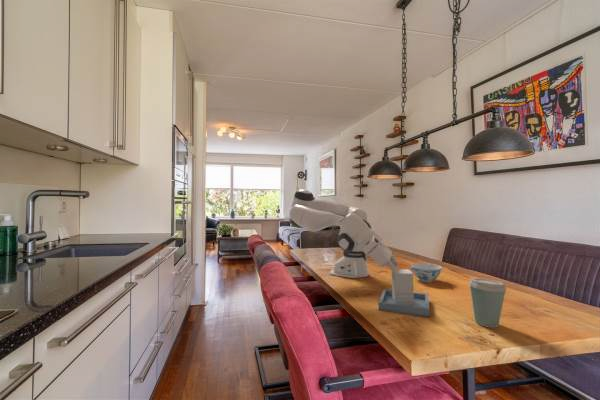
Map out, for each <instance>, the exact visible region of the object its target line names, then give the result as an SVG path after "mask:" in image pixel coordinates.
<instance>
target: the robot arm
mask: <svg viewBox="0 0 600 400" xmlns="http://www.w3.org/2000/svg"><path fill="white" fill-rule="evenodd" d="M293 196H294V197H293V200H292V203H291V209H290V211H289V222H290V224H291V226H293V227H295V228H298V229H305V230H306V231H307V232H312V233H317V232H319V231H320V232H321V231H322V230H323V229H324V230H325V229H326V228H329V227H339V233H338V235H337V238H336V240H337V241H336V243H337V245H338V246H339V247H340V249H341V250H343V251H342V254H343V256H342V257H340V258H339V259H337V260H336V261H335V262H334V264H333V268H332V269H331V270H330V271H329V274H330V275H332V276H338V277H342V278H343V277H344V278H350V279H357V278H364V277H365V278H366V277H368V276H369V275H370V273H369V270H368V264H367V259H368V256H369V257H370V258H371V259H372V260H373V261H374V262H375V263H377V265H379V266H380V267H382V268H384V267H386V268H388V269H389V270H391V272H392V271H393V272H396V271H397V269H398V267H399V262H398V261H397V260H396V258H395V257H394V256H393V252H392V250H391V249H390V248H389V247H387V246H386V245H385V244H384V243H383V242H382V240H383V238H382V237H381V236H380V235H379V234H378V233H377V232H376V231H374V230H373V229H372V225H371V223H369V222H368V214H367V212H366V211H365V210H364V209H363V208H361V207H356V206H351V205H348V204H347V205H346V204H343V203H339V202H334V201H330V200H325V199H320V198H315V196H314V195H313V192H311V191H310V190H308V189H304V188H303V189H297V190H296V191H295V193H294V195H293Z"/></svg>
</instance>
